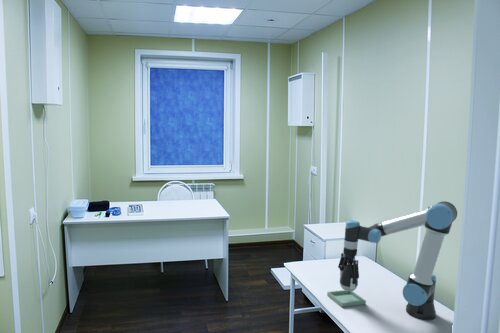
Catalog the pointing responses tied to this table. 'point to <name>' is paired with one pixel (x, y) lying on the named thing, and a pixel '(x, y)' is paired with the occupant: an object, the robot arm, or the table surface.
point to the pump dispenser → (347, 278)
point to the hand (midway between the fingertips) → (347, 285)
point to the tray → (346, 298)
